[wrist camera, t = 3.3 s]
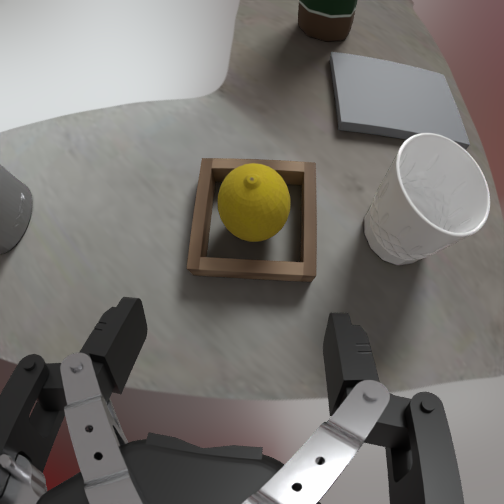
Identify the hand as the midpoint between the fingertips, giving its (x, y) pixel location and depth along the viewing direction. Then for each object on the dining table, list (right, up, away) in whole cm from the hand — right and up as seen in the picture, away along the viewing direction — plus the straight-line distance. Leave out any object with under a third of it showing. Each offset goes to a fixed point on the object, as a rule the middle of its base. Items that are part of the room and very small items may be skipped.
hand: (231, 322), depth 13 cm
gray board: (+18, +21, +19) cm, 34 cm away
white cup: (+14, +5, +15) cm, 21 cm away
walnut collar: (+1, +5, +15) cm, 16 cm away
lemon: (+1, +5, +15) cm, 16 cm away
